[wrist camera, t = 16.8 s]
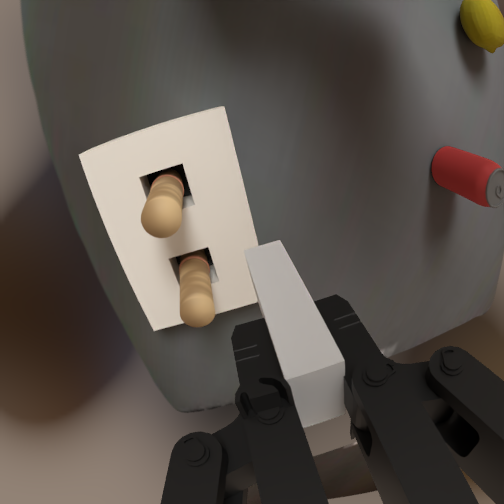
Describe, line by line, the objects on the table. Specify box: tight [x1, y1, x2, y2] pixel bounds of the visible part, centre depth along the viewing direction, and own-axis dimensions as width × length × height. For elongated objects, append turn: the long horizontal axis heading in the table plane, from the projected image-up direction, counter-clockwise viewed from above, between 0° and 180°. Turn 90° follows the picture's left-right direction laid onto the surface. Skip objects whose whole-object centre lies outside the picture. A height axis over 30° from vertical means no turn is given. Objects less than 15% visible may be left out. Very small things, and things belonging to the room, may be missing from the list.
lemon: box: [460, 0, 504, 53], centre depth 29 cm, size 11×8×8 cm
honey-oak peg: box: [179, 248, 215, 327], centre depth 36 cm, size 4×4×13 cm
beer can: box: [432, 146, 504, 208], centre depth 38 cm, size 7×7×12 cm
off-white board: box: [79, 106, 258, 331], centre depth 37 cm, size 16×24×4 cm, turn 13°
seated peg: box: [141, 169, 184, 238], centre depth 31 cm, size 4×4×13 cm
